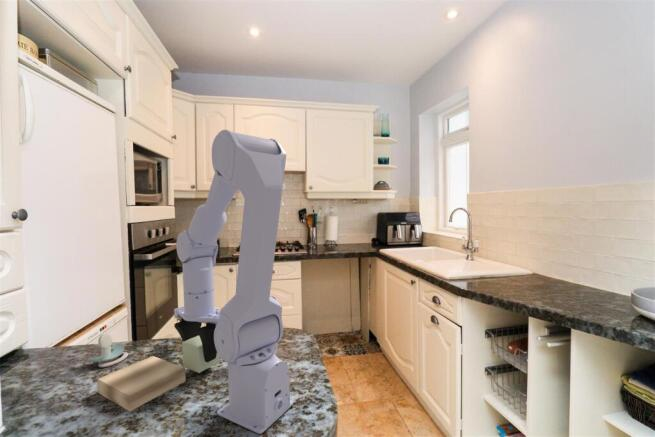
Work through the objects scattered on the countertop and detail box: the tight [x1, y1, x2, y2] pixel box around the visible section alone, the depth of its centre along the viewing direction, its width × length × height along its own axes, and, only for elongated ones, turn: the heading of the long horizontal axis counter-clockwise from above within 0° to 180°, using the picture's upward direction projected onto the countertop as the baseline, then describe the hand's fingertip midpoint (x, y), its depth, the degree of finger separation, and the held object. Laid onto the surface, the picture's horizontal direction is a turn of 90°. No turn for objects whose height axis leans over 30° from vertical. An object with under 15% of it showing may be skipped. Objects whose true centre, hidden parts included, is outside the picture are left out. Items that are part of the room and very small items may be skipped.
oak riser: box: [97, 355, 187, 412], centre depth 56 cm, size 11×10×3 cm
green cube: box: [181, 336, 221, 373], centre depth 61 cm, size 5×5×5 cm
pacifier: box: [87, 332, 129, 368], centre depth 67 cm, size 7×6×6 cm
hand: (201, 357), depth 61 cm, fingers closed on green cube, 5 cm apart
